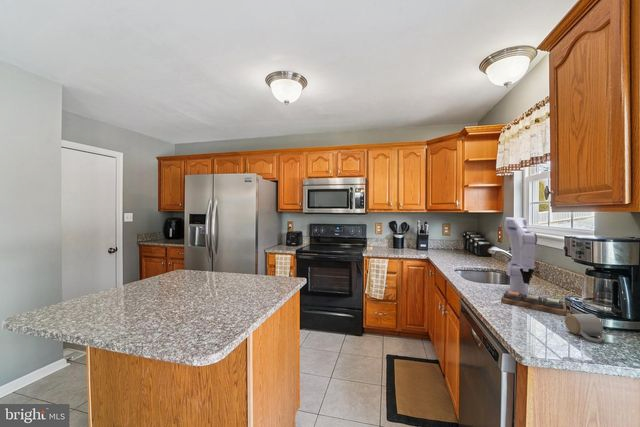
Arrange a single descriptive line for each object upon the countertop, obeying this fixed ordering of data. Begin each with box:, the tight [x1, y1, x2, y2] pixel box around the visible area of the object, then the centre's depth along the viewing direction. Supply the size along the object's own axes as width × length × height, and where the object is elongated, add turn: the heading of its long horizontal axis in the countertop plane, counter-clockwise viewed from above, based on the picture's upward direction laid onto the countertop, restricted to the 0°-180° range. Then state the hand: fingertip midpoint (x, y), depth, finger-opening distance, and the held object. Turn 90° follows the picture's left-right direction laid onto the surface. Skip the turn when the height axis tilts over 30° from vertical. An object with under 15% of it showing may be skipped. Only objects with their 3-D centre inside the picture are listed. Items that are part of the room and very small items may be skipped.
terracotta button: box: [508, 290, 520, 296], centre depth 136 cm, size 4×4×2 cm
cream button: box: [527, 294, 540, 300], centre depth 131 cm, size 4×4×2 cm
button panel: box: [500, 290, 567, 317], centre depth 131 cm, size 24×12×4 cm, turn 49°
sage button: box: [546, 297, 560, 304], centre depth 126 cm, size 4×4×2 cm
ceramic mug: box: [564, 313, 604, 343], centre depth 100 cm, size 11×8×8 cm
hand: (526, 283), depth 137 cm, fingers closed
